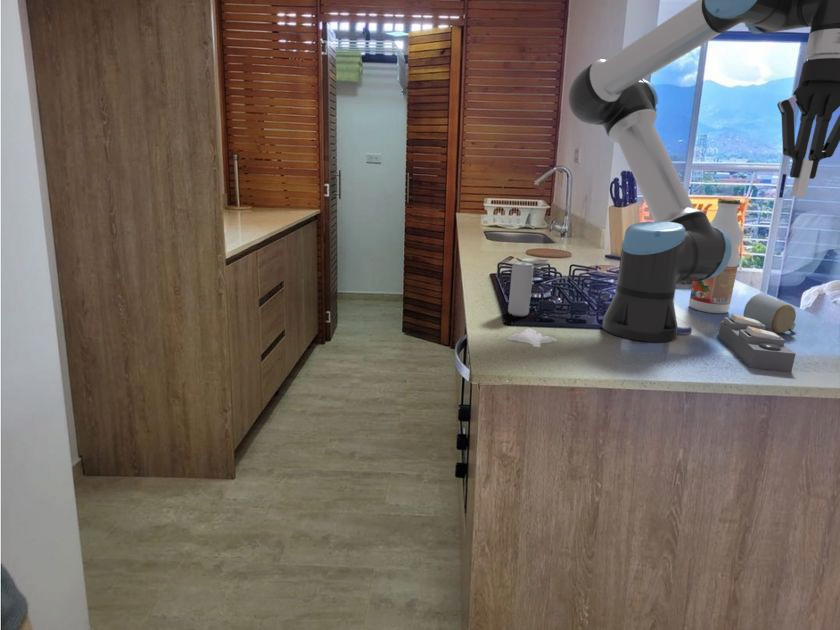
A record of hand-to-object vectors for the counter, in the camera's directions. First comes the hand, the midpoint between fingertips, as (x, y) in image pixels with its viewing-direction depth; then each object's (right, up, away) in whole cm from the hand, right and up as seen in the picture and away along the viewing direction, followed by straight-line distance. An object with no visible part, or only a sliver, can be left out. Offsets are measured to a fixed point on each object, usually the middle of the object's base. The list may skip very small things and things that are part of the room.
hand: (797, 196), depth 108 cm
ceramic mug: (+11, -26, +26) cm, 38 cm away
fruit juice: (+4, -21, +42) cm, 47 cm away
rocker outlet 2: (-4, -26, +4) cm, 27 cm away
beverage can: (-47, -22, +27) cm, 59 cm away
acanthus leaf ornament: (-48, -28, +8) cm, 56 cm away
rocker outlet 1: (-3, -24, +13) cm, 27 cm away
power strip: (-4, -30, +8) cm, 31 cm away
